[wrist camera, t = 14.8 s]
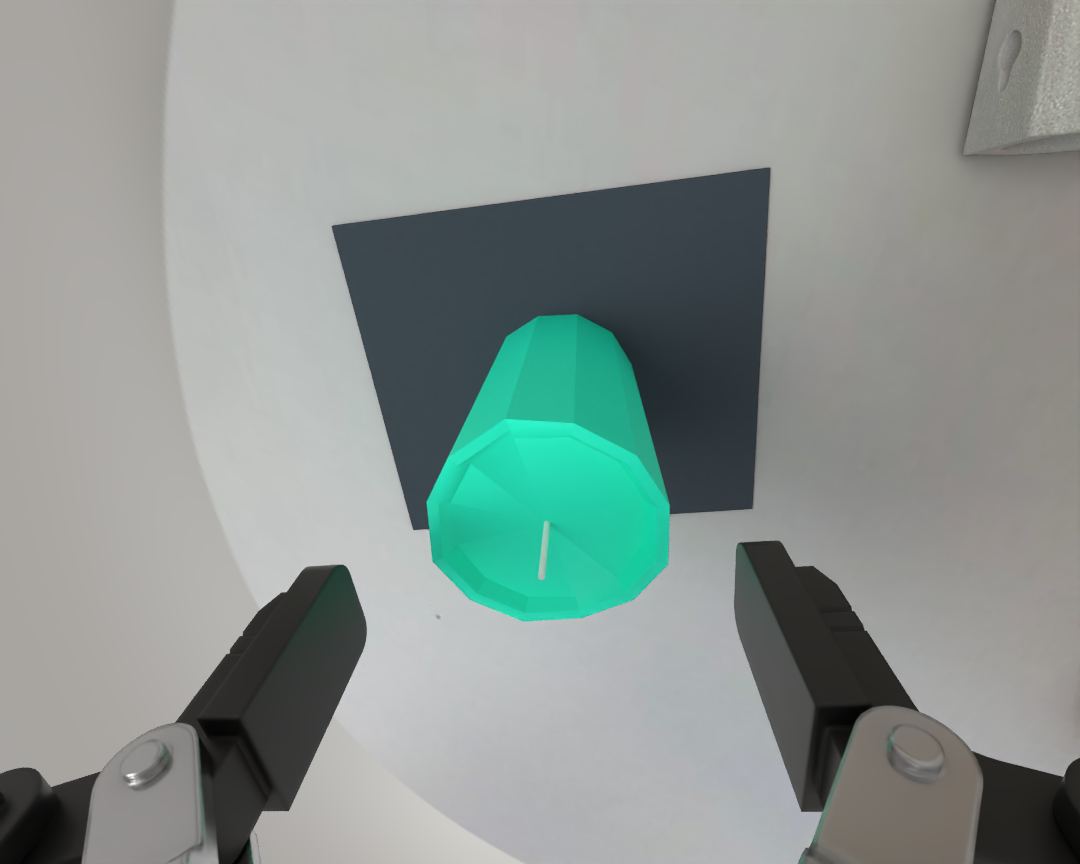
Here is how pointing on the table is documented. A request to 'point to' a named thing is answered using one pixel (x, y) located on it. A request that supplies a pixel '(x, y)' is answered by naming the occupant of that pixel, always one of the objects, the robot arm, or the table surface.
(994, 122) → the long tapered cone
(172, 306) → the table surface
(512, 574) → the candle
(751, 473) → the mat
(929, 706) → the table surface
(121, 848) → the robot arm
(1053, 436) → the table surface
